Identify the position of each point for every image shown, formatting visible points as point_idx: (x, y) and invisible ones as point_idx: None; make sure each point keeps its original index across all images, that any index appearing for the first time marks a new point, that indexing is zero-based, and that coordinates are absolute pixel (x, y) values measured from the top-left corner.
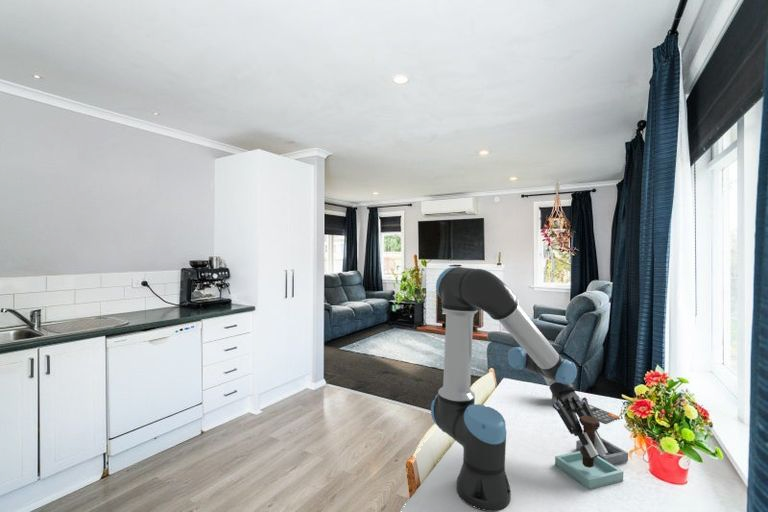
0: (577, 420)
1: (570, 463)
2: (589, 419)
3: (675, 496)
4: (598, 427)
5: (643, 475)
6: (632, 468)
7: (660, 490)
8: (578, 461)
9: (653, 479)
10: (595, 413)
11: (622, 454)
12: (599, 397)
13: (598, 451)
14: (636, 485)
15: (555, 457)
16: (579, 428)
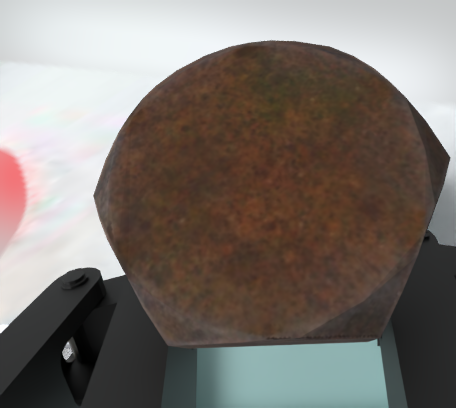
0: (424, 337)
1: (346, 400)
2: (261, 160)
3: (82, 107)
4: (91, 273)
5: (53, 225)
6: (41, 279)
7: (94, 139)
8: (275, 403)
9: (45, 195)
10: None
11: (7, 325)
12: None
13: None
14: None
15: None
16: (426, 254)
